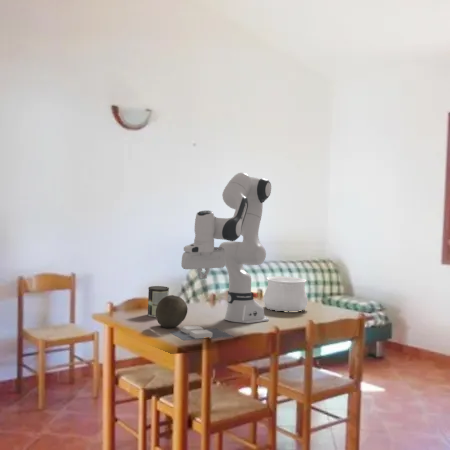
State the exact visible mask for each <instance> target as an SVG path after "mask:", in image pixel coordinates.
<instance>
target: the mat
mask: <svg viewBox="0 0 450 450" xmlns="http://www.w3.org/2000/svg"><path fill="white" fill-rule="evenodd" d="M203 330H208V331H210V332H212V337H211V338H210V339H218V338H219V339H220V338H232V337H233V338H234V336H233V335H232V334H230V333H228V332H226V331H223V330H222V329H219V328H203ZM168 333H169V334H171V335H173V336H175V337H177V338H179V339H180V340H182V341H192V340H193V341H194V340H195V341H196V339H195V338H194V337H192V336H190V334H186V333H184V332H182V331H181V330H173V331H172V330H171V331H168ZM197 340H204V339H203V338H198V339H197Z"/></svg>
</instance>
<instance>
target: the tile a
mask: <svg viewBox="0 0 450 450" xmlns="http://www.w3.org/2000/svg"><path fill="white" fill-rule="evenodd" d="M180 327H181V329H180V331H182V332H184V333H186V334H190V331H195V330H203V329H204V328H203V327H201V326H199V325H186V326H184V325H183V326H180Z"/></svg>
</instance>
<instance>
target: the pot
mask: <svg viewBox="0 0 450 450" xmlns="http://www.w3.org/2000/svg"><path fill="white" fill-rule="evenodd" d="M266 280H267V287H266V289H265V291H264V294H263V305H264V306H265V308H266V309H268V310H269V309H270V310H269V311H272V310H275V311H274V312H277V311H299V310H303V309H304V310H305V309H306V308H307V306H308V295H307V293H306V290H305V289H306V288H305V283H306V282H307V279H305V278H302V277H296V276H267V277H266ZM304 310H303V311H304Z"/></svg>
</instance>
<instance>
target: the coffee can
mask: <svg viewBox="0 0 450 450" xmlns="http://www.w3.org/2000/svg"><path fill="white" fill-rule="evenodd" d="M147 289H148V298H147V302H148V303H147V316H148V317H151V318H156V308H157V305H158V303H159V302H160V301H161V299H162V298H164V297H166V296H169V295H170V294H169V293H170V292H169V290H170V287H169V286H164V285H152V286H148V288H147Z"/></svg>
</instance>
